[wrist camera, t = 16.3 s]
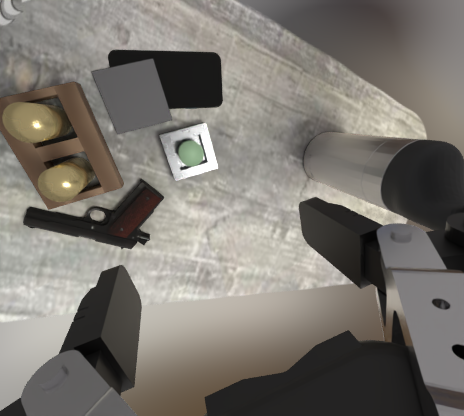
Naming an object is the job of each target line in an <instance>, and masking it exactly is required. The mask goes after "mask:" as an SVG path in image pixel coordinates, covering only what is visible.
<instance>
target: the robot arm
mask: <svg viewBox="0 0 464 416" xmlns="http://www.w3.org/2000/svg"><path fill="white" fill-rule="evenodd" d="M304 169H305V171H306V173H307V175H308V176H309V177H310V178H311V179H313V180H315V181H318V182H320V183H322V184H325V185H327V186H329V187H332V188H334V189H337V190H339V191H342V192H344V193H347V194H349V195H352V196H354V197H357V198H359V199H362V200H364V201H366V202H369V203H371V204H374V205H377V206H379V207H382V208H384V209H386V210H389V211H391V212H394V213H397V214H399V215H401V216H403V217H405V218H407V219H409V220H411V221H413V222H416V223H418V224H420V225H423V226H425V227H428V228H430V229H432V230H434V231H430V232H425V231H424V230H422V229H420V228H418V227H416V226H412V225H407V224H388V225H384V226H383V225H381V224H379V223H377V222H375V221H373V220H371V219H369V218H367V217H364V216H362V215H360V214H359V215H358V213H356V212H354V211H351V210H350V209H348V208H346V207H344V206H342V205H337V204H332V203H327V202H325V201H323V200H321V199H319V198H317V197H314V198H311V199H308V200H306V201H303V202H300V204H299V212H300V220H301V227H302V233H303V237H304V239H305V241H306V242H307V243H308V244H309V245H310V246H311V247H312V248H313V249H315V250H316V251H317V252H318V253H319V254H320V255H322V256H323V257H324V258H325V259H326V260H327V261H329V262H330V263H331V264H332V265H333V266H335V267H336V268H337V269H338V270H339V271H340V272H342V273H343V274H344V275H345V276H346V277H347V278H349V279H350V280H351V281H352V282H353V283H355V284H356V285H357V286H358V287H359V288H363V287H366V286H368V285H370V284H373V285H375V286H376V297H377V303H378V308H379V314H380V318H381V324H382V330H383V335H384V341H375V340H366V341H358V340H357V339H356V338H355V337H354V336H353V335H352V334H351V332H350V331H346V332H344V333H341V334H339V335H337V336H335V337H333V338H331V339H329V340H326V341H324V342H322V343H320V344H318V345H316V346H315V347H314V348H312V349H311V350H310V351H309V352H308V353H307V354H306V355H305V356H303V357H302V358H301V359H300V360H299V361H298V362H297V363H296V364H294V365H293V366H292V367H291V368H290V369H289V370H287V371H286V372H283V373H278V374H272V375H267V376H261V377H254V378H249V379H243V380H241V381H239V382H236V383H234V384H232V385H230V386H228V387H226V388H224V389H221V390H219V391H217V392H215V393H213V394H211V395H209V396H207V397H205V403H206V409H207V413H206V414H205V415H204V416H464V159H463V156H462V154H461V153H460V151H459V150H458V149H457V148H456V147H455V146H453V145H452V144H449V143H447V142H442V141H432V140H419V139H408V138H395V137H383V136H372V135H360V134H349V133H338V132H325V133H321V134H319V135H318V136H316V137H315V138H314V139H313V140H312V141H311V142H310V143H309V145H308V147H307V148H306V151H305V154H304ZM141 308H142V306H141V300H140V296H139V294H138V292H137V290H136V288H135V286H134V284H133V282H132V280H131V278H130V276H129V274H128V272H127V270H126V269H125V267H124V266H123V265H119V266H117V267H114V268H111V269H108V270H105V271H103V272H101V275H100V277H99V280H98V283H97V285H96V287H94V288H91V289H90V291H89V292H88V293H87V294H86V295H85V297H84V298H83V299H82V301H81V303H80V305H79V308H78V310H77V311H78V312H77V313H76V315H75V317H74V322H72V324H71V326H70V329H69V331H68V333H67V336H66V338H65V341H64V343H63V345H62V348H61V350H60V352H59V354H58V355H57V356H55V357H54V358H52V359H50V360H49V361H48V362H46V363H45V364H44V365H43V366H41V367H40V368H39V369H38V370H37V371H36V372H35V374H34V375H33V376H32V377H31V379H30V380H29V381H28V382H27V384H26V386H25V388H24V390H23V393H22V396H21V398H19V399H18V400H16V401H15V402H13V403H12V404H10V405H9V406H7V407H6V408H4V409H3V410H1V411H0V416H137V415H136V414H135V412H134V411H133V410H132V409H131V408H130V407H129V406H128V404H127V403H126V402H125V401H124V400H123V399H122V398H121V396H120V395H121V392H124V391H125V390H128V389H131V388H132V387H134V384H135V373H136V362H137V350H138V341H139V330H140V319H141Z"/></svg>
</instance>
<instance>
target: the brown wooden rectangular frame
mask: <svg viewBox="0 0 464 416" xmlns="http://www.w3.org/2000/svg"><path fill="white" fill-rule="evenodd" d="M58 97H59V99H60V102H61V104H62V106H63V108H64V110H65V112H66V114H67V116H68V118H69V120H70V122H71V124H72V126H73V128H74V130H75V132H76V134H77V137H78V138H74V139H70V140H66V141H62V142H58V143H54V144H51V145H47V146H43V144H42V142H37V143H26V142H23V141H20V140H18V139H16V138H15V137H13V136H12V135H11V134H10V133H9V132H8V131H7V130H6V128H5V126H4V124H3V120H2V115H3V112H4V110H5V108H6V107H7V106H9V105H10V104H12V103H16V102H26V103H36V102H40V101H45V100H49V99H53V98H58ZM0 131H1V132H2V134H3V135H4V137H5V139H6V140H7V142H8V144H9V145H10V147H11V149H12V150H13V152H14V154H15V155H16V157H17V159H18V160H19V162H20V163H21V165H22V167H23V168H24V170H25V172H26V173H27V175H28V177H29V178H30V180H31V182H32V183H33V185H34V186H35V188H36V190H37V191H38V193H39V195H40V196H41V198H42V200H43V201H44V203H45V205H46V206H47V208H48V210H49V209H53V208H56V207H59V206H63V205H66V204H69V203H73V202H76V201H79V200H83V199H86V198H89V197H93V196H96V195H99V194H103V193H106V192H109V191H113V190H116V189H119V188H122V186H123V185H124V182H123V180H122V178H121V175H120V173H119V171H118V169H117V166H116V164H115V162H114V160H113V157H112V155H111V153H110V151H109V148H108V146H107V144H106V142H105V139H104V137H103V135H102V133H101V130H100V128H99V126H98V124H97V121H96V119H95V117H94V114H93V112H92V110H91V108H90V105H89V103H88V101H87V99H86V96H85V94H84V92H83V90H82V87H81V85H80V84H78V83H76V82H70V83H66V84H61V85H56V86H52V87H47V88H43V89H38V90H34V91H29V92H25V93H20V94H16V95H11V96H7V97H2V98H0ZM83 151H85V153H86V155H87V157H88V159H89V161H90V163H91V165H92V167H93V169H94V172H95V174H96V176H97V178H98V180H99V182H100V185H96V186H93V187H89V188H86V189H83V190H81V191H80V192H79V193H78V194H77V195H76V196H75V197H74V198H73V199H71V200H69V201H66V202H56V201H53V200H50V199H48V198H47V197H45V196H44V195H43V194H42V193H41V191H40V190H39V187H38V178H39V176H40V175H41V173H42V172H44V171H45V170H48V169H50V168H52V167H54V164H53V162H52V160H53V159H57V158H60V157H64V156H68V155H72V154H75V153H79V152H83Z"/></svg>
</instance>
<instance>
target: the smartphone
mask: <svg viewBox="0 0 464 416" xmlns="http://www.w3.org/2000/svg"><path fill="white" fill-rule="evenodd" d="M108 59H109V65H110V68H111V67H116V66H120V65H125V64H130V63H134V62H139V61H143V60H148V59H153V60H154V64H155V67H156V70H157V73H158V76H159V79H160V82H161V85H162V89H163V92H164V95H165V98H166V101H167V104H168V107H169V109H177V108H186V109H191V108H212V107H219V106H220V105H221V104H222V101H223V97H222V75H221V59H220V57H219V55H218V54H216V53H214V52H179V51H140V50H113V51H111V52H110V53H109V56H108Z"/></svg>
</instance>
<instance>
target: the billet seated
mask: <svg viewBox="0 0 464 416" xmlns="http://www.w3.org/2000/svg"><path fill="white" fill-rule="evenodd" d="M94 176H95V172H94V169H93V167H92V165H91V163H90V162H89V161H87V160H85V159H83V158H77V157H76V158H71V159H69V160H67V161H65V162H63V163H60V164H58V165H56V166H54V167H52V168H50V169H48V170H45V171H44V172H42V173H41V175H40V176H39V178H38V187H39V190H40V191H41V193H42V194H43V195H44V196H45V197H47V198H48V199H50V200H53V201H56V202H66V201H69V200H71V199H73V198H74V197H75V196H76V195H77V194H78V193H79V192H80V191H81V190H82V189H84V188H85V187H86V186H87V185H88V184H89V183H90V182H91V181H92V180H93V178H94Z"/></svg>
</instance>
